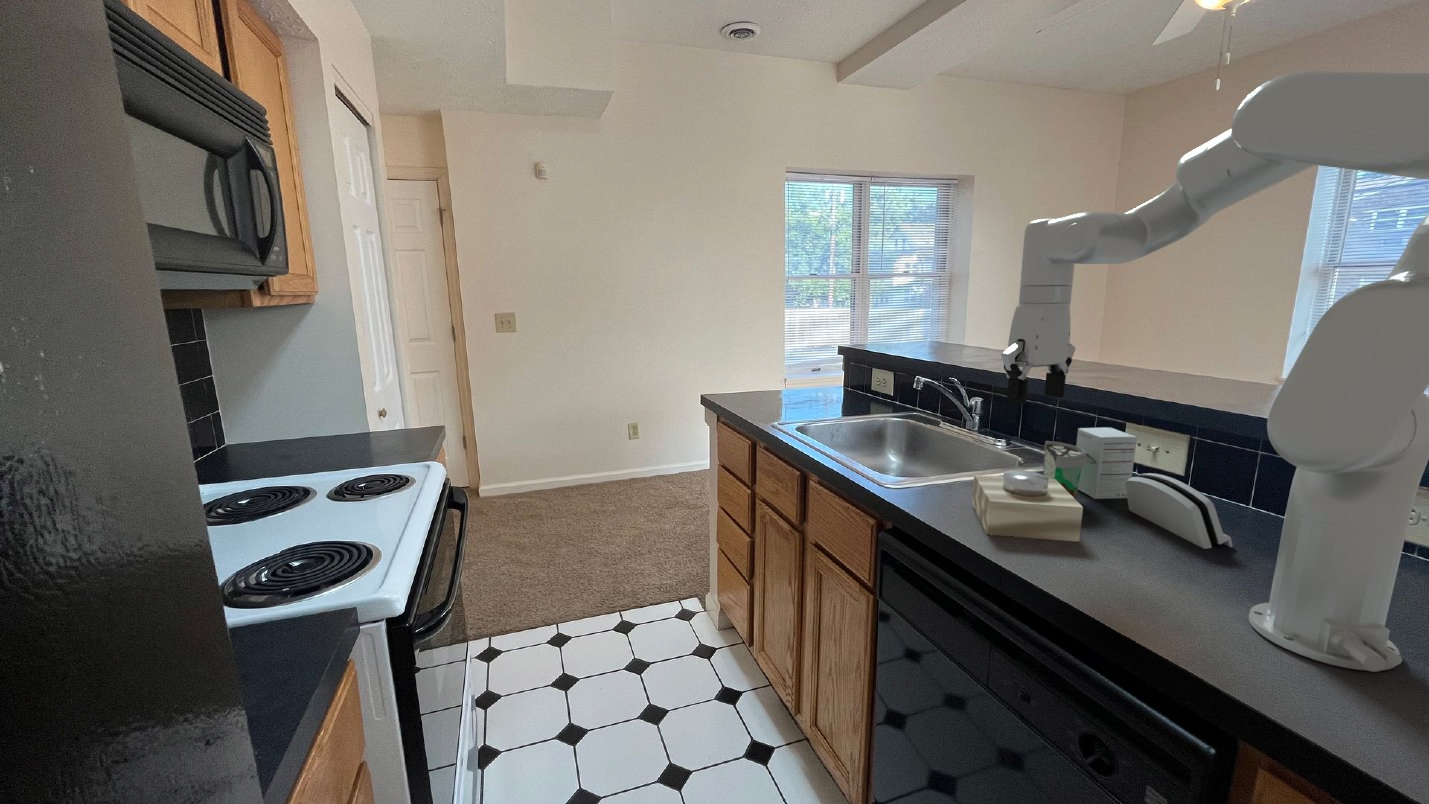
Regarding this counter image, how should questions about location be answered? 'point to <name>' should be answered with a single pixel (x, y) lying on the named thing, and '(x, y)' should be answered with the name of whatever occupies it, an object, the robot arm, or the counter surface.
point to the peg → (1025, 483)
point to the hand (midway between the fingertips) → (1035, 399)
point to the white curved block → (1176, 509)
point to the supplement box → (1106, 462)
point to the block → (1026, 511)
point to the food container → (1064, 464)
